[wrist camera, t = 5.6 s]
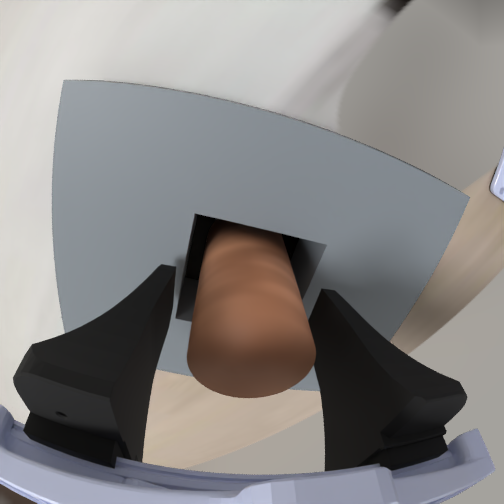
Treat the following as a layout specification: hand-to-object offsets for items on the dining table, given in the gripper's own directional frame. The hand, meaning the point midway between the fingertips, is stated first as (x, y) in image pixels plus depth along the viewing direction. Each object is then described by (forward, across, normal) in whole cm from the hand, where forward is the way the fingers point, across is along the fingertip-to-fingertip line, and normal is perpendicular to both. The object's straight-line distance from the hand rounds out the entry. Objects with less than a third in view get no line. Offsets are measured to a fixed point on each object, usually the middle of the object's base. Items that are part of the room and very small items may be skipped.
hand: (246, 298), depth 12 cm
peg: (+4, 0, 0) cm, 4 cm away
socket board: (+4, 0, 0) cm, 4 cm away
